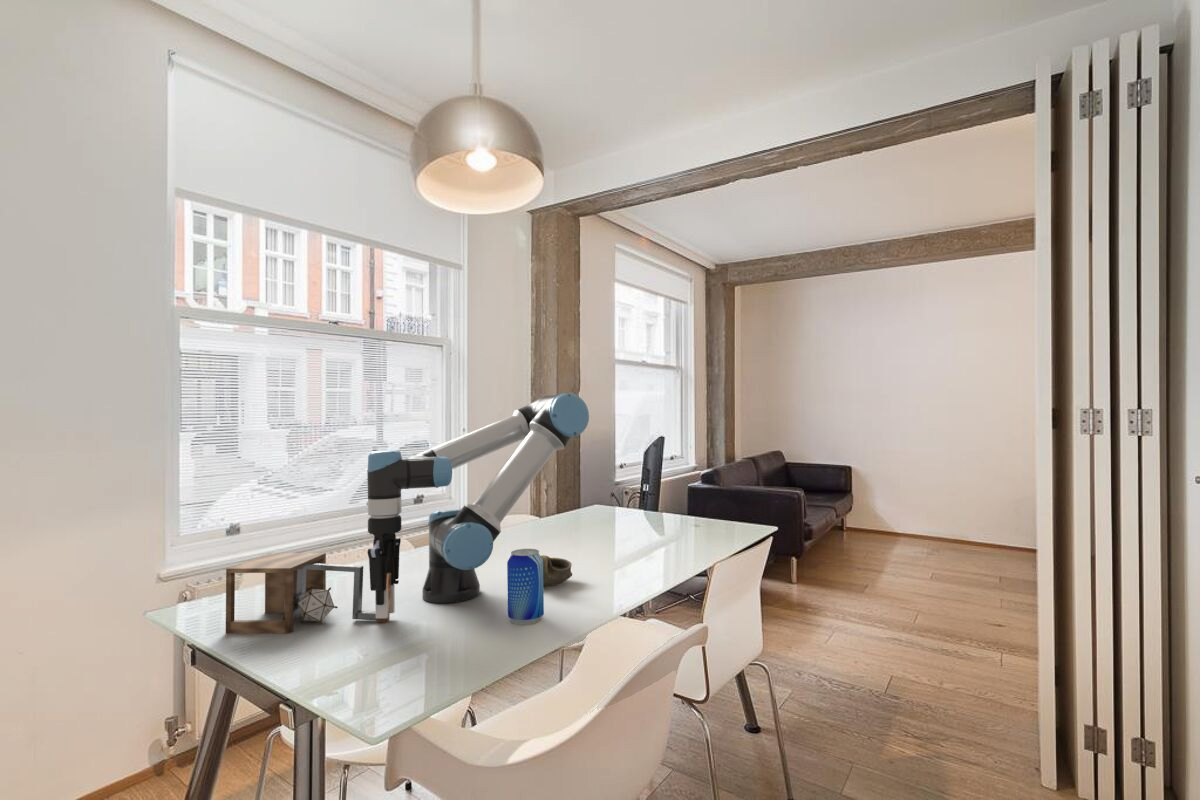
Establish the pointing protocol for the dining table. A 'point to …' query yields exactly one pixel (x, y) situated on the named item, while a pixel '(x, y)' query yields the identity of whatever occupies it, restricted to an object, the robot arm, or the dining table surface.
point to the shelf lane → (273, 589)
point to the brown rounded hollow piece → (555, 570)
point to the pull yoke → (357, 591)
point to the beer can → (525, 586)
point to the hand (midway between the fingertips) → (385, 615)
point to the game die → (315, 605)
